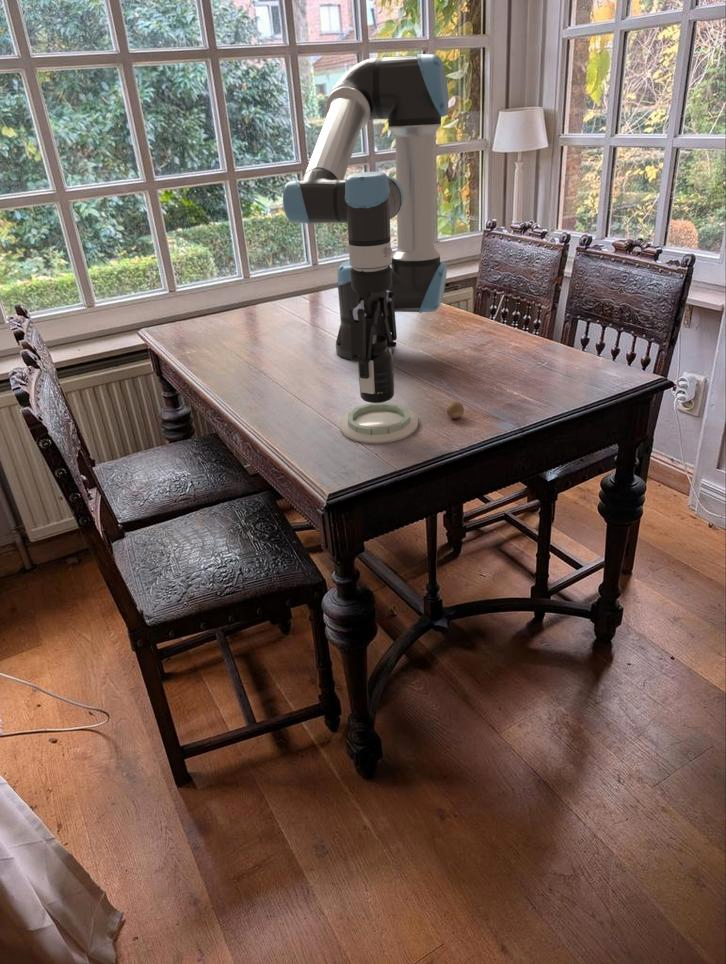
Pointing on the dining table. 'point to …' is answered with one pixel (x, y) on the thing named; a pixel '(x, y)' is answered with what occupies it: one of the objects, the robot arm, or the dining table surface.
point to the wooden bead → (455, 410)
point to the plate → (378, 423)
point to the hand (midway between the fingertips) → (376, 385)
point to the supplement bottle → (380, 372)
